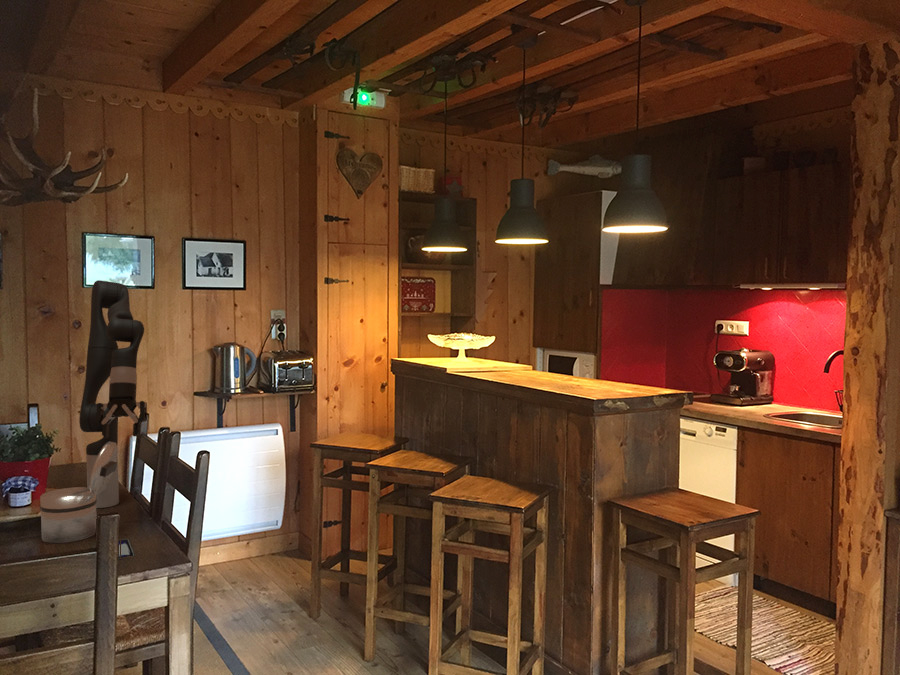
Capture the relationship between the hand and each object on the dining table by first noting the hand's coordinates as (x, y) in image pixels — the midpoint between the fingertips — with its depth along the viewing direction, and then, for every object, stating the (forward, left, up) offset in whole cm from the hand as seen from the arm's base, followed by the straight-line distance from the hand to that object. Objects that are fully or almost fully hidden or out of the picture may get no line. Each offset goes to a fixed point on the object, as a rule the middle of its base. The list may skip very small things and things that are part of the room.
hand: (120, 436), depth 220 cm
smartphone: (+26, +7, -27) cm, 38 cm away
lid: (+10, -2, -7) cm, 12 cm away
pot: (+10, -11, -26) cm, 30 cm away
